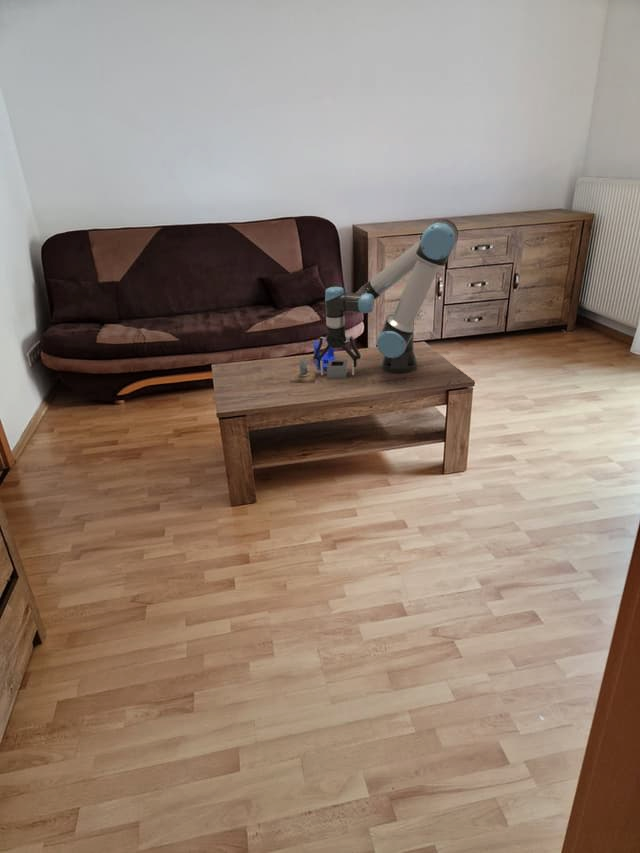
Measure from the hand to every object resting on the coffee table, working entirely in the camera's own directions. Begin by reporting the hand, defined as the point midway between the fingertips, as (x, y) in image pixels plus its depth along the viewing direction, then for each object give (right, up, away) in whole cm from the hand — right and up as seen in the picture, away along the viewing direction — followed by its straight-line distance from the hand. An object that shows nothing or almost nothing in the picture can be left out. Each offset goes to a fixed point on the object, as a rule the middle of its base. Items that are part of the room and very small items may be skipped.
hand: (337, 374), depth 242 cm
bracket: (-5, +5, +12) cm, 14 cm away
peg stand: (-14, -2, -1) cm, 15 cm away
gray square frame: (0, 0, 0) cm, 0 cm away
